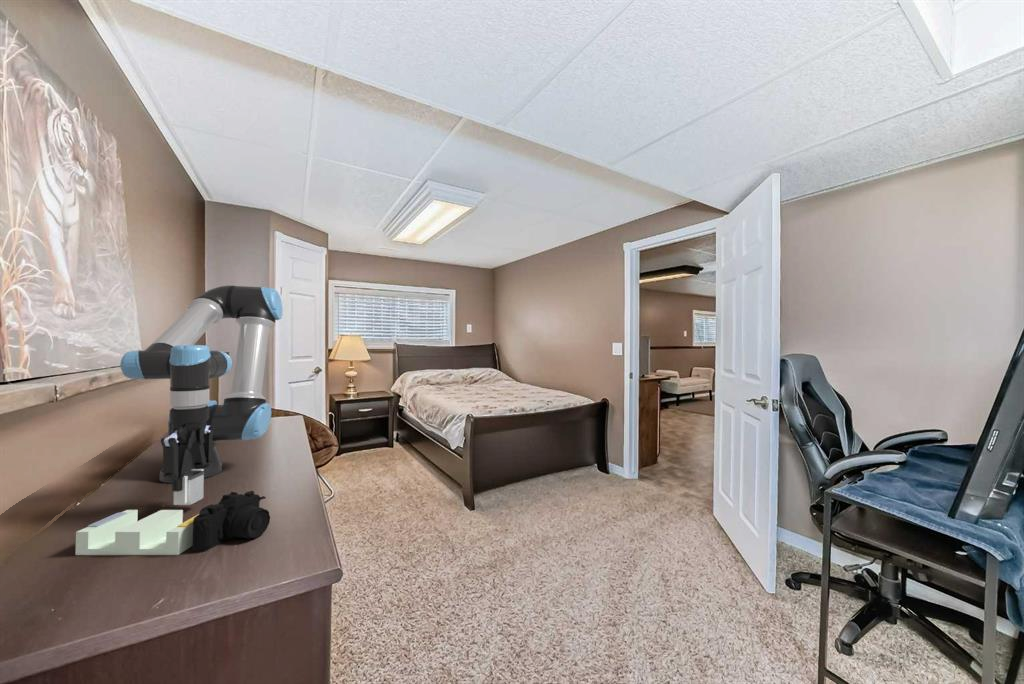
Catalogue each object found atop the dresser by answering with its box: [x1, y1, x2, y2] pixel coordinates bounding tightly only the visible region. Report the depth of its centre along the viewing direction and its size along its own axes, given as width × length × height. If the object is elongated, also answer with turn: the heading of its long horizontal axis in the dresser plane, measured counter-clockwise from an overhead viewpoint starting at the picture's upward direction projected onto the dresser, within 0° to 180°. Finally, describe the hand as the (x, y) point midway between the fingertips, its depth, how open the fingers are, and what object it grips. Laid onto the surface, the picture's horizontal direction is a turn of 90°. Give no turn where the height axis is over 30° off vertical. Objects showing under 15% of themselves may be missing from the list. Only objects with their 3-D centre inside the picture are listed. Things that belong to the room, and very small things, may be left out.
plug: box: [173, 471, 205, 506], centre depth 94 cm, size 4×4×7 cm
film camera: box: [191, 490, 271, 554], centre depth 82 cm, size 15×10×9 cm, turn 168°
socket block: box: [75, 509, 199, 556], centre depth 79 cm, size 10×20×5 cm, turn 91°
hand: (189, 498), depth 94 cm, fingers closed on plug, 4 cm apart
